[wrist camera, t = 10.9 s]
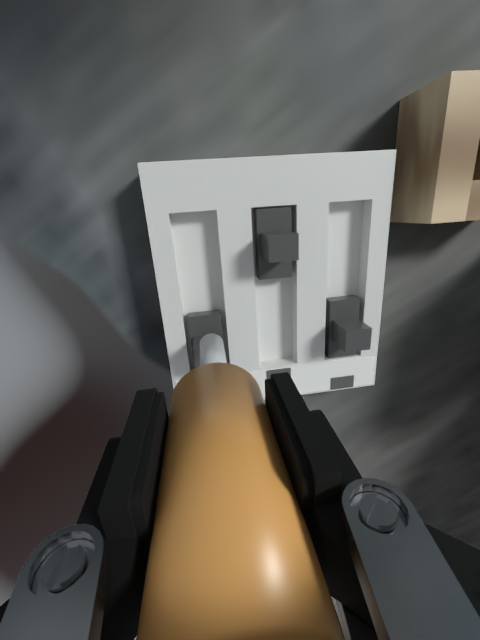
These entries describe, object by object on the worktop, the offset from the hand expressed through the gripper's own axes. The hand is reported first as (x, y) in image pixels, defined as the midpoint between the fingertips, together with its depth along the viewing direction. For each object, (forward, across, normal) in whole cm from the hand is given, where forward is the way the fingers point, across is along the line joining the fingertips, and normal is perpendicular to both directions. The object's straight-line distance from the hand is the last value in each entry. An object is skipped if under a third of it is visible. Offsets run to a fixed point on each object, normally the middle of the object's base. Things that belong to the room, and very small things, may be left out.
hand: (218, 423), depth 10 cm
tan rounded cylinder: (+6, 0, 0) cm, 6 cm away
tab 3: (+11, -9, +2) cm, 14 cm away
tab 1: (+11, 0, +2) cm, 11 cm away
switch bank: (+12, -4, -1) cm, 13 cm away
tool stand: (+13, -16, -8) cm, 22 cm away
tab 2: (+11, -4, -4) cm, 12 cm away
